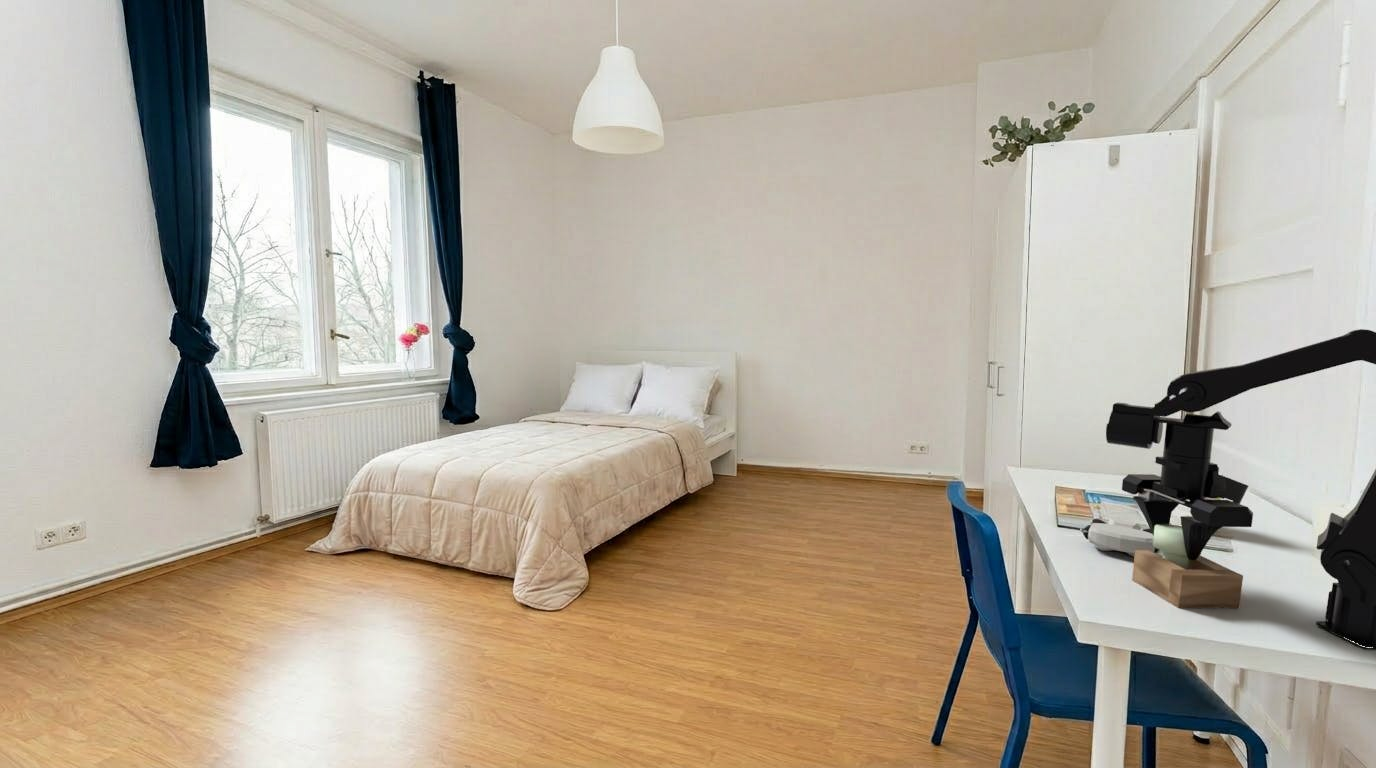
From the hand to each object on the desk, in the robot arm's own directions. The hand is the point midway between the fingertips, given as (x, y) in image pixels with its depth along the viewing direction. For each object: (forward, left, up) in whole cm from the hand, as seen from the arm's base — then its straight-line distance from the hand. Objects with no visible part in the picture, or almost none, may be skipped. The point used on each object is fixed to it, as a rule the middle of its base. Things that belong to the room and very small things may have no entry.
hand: (1175, 551), depth 99 cm
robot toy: (+17, -4, -6) cm, 19 cm away
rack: (-2, 0, -6) cm, 6 cm away
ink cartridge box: (+29, -26, -6) cm, 39 cm away
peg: (0, 0, -2) cm, 2 cm away
